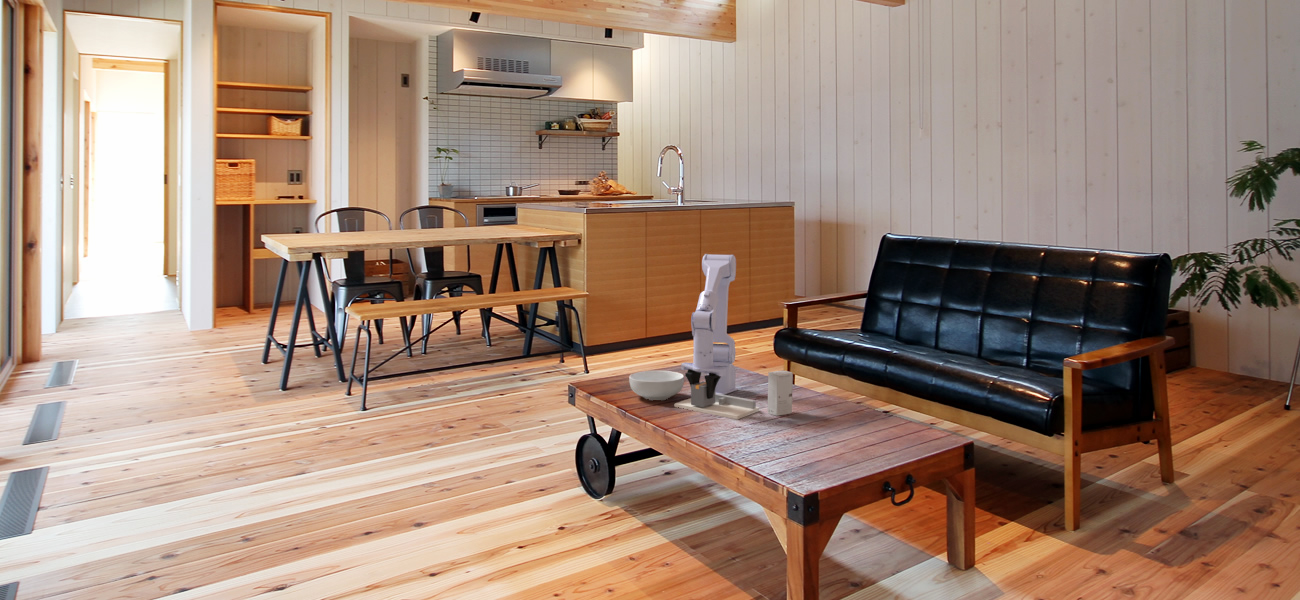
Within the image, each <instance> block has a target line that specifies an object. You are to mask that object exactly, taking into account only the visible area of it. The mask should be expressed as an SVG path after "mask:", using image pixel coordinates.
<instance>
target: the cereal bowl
mask: <svg viewBox="0 0 1300 600" xmlns="http://www.w3.org/2000/svg"><path fill="white" fill-rule="evenodd" d="M684 375H685V374H683V373H680V372H677V371H670V370H642V371H639V372H638V371H637V372H634V373H631V374H630V375H629V377H628V379H629V380H628V381H629V385H630V389H631V390H632V391H633V392H634V393H635V394H636V395H637V396H641V397H642V398H643V399H645V400H647V399H649V400H648V401H653V400H661V401H665V400H666V399H667V400H669V399H670V398H671V397H673V396H676V395H677V394H679V393H680V391H682V389H683V388H684V385H685V384H684V383H685V376H684ZM668 398H669V399H668Z"/></svg>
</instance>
